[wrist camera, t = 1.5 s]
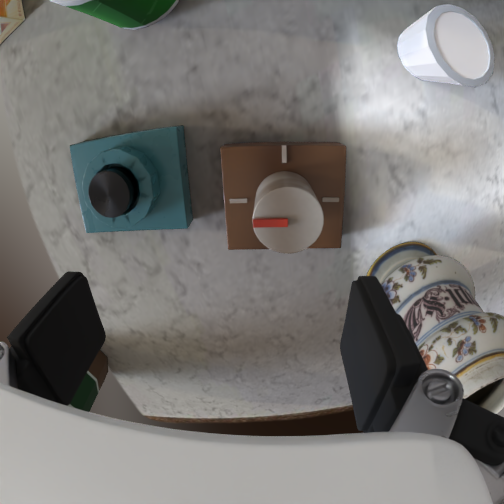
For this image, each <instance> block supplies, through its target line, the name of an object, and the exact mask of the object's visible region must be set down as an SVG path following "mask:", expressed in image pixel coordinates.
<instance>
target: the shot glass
mask: <svg viewBox="0 0 504 504" xmlns="http://www.w3.org/2000/svg"><path fill="white" fill-rule="evenodd" d="M397 48H398V54H399V58H400V59H401V61H402V63H403V65H404V67H405V68H406V69H407V70H408V71H409V72H410V73H411V74H412V75H413V76H415V77H417V78H419V79H421V80H422V81H432V82H441V83H449V84H457V85H463V86H470V87H478V86H480V85H483V84H485V83H486V82H487V81H488V80H489V78H490V77H491V75H492V74H493V69H494V62H495V58H494V52H493V46H492V43H491V41H490V39H489V37H488V35H487V33H486V31H485V29H484V28H483V26H482V25H481V24H480V23H479V22H478V20H477V19H476V18H475V17H474V16H473V15H471V14H470V13H468V12H467V11H466V10H464V9H463V8H461V7H458V6H454V5H450V4H445V5H440V6H436V7H434V8H433V9H432V10H430V11H429V12H428V13H426V14H425V15H424V16H422V17H421V18H420V19H418V20H417V21H416V22H414V23H413V24H412V25H410V26H409V27H408V28H406V29H405V30H404V31H403V32H402V34H401V35H400V36H399V39H398V44H397Z"/></svg>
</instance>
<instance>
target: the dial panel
mask: <svg viewBox="0 0 504 504" xmlns="http://www.w3.org/2000/svg"><path fill="white" fill-rule="evenodd" d="M220 150H221V165H222V179H223V192H224V205H225V218H226V230H227V242H228V249H229V250H233V249H269V248H268V247H266V246H265V245H264V244H263V243H262V242H261V241H260V240H259V239H258V237H257V236H256V234H255V231H254V228H253V222H252V220H253V211H254V204H255V197H256V192H257V189H258V187H259V185H260V184H261V182H262V181H263V180H264V179H265V178H266V177H268V176H269V175H271V174H273V173H276V172H281V171H289V172H293V173H296V174H299V175H300V176H302V177H303V178H305V179H306V180H307V181H308V183H309V184H310V186H311V188H312V190H313V191H314V193H315V195H316V197H317V199H318V201H319V203H320V205H321V208H322V210H323V215H324V224H323V228H322V231H321V234H320V235H319V237H318V238H317V240H316V241H315V242H314V243H313V244H312V245H311V246H309V247H308V248H341V238H342V225H343V211H344V194H345V172H346V146H344V145H343V144H341V143H335V142H255V143H232V144H224V145H223V146H222V147H221V148H220Z"/></svg>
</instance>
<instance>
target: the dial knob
mask: <svg viewBox="0 0 504 504" xmlns="http://www.w3.org/2000/svg"><path fill="white" fill-rule="evenodd" d="M252 222H253V228H254V231H255V234H256V236H257V237H258V239H259V240H260V241H261V242H262V243H263V244H264V245H265V246H266V247H268V248H269V249H271V250H273V251H276V252H279V253H296V252H299V251H302V250H304V249H306V248H308V247H309V246H311V245H312V244H313V243H314V242H315V241H316V240H317V238H318V237H319V235H320V234H321V231H322V228H323V224H324V215H323V210H322V208H321V205H320V203H319V201H318V199H317V197H316V195H315V193H314V191H313V190H312V188H311V186H310V184H309V183H308V181H307V180H306V179H305V178H303V177H302V176H300V175H299V174H296V173H293V172H289V171H281V172H276V173H273V174H271V175H269V176H268V177H266V178H265V179H264V180H263V181H262V182H261V184H260V185H259V187H258V189H257V192H256V197H255V204H254V211H253V220H252Z"/></svg>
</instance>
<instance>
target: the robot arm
mask: <svg viewBox="0 0 504 504" xmlns="http://www.w3.org/2000/svg"><path fill="white" fill-rule="evenodd" d="M105 337H106V335H105V331H104V328H103V325H102V323H101V320H100V317H99V314H98V311H97V308H96V305H95V302H94V299H93V296H92V293H91V290H90V287H89V284H88V280H87V278H86V277H85V276H84V275H83V274H82V273H81V272H67V273H65V274H64V275H63V276H62V277H61V278H60V279H59V280H58V281H57V282H56V284H55V285H54V286H53V287H52V288H51V289H50V290H49V291H48V292H47V293H46V294H45V295H44V296H43V297H42V298H41V299H40V300H39V302H38V303H37V304H36V305H35V306H34V307H33V308H32V309H31V310H30V311H29V313H28V314H27V315H26V316H25V317H24V318H23V319H22V320H21V322H20V323H19V324H18V325H17V326H16V327H15V329H14V330H13V331H12V332H11V333H10V335H9V336H8V337H7V338H8V340H9V342H10V344H11V345H12V346H11V347H10V349H9V347H8V346H7V344H6V343H4V342H0V504H504V417H501V416H499V415H497V414H495V413H493V412H491V411H489V410H487V409H485V408H482V407H480V406H478V405H476V404H474V403H472V402H470V401H468V400H466V399H464V398H463V394H464V389H463V385H462V383H461V382H460V380H459V379H458V378H457V377H456V376H455V375H454V374H452V373H451V372H449V371H447V370H443V369H430V370H428V368H427V366H426V364H425V362H424V360H423V358H422V356H421V354H420V352H419V349H418V347H417V345H416V343H415V341H414V339H413V337H412V335H411V333H410V332H409V330H408V328H407V326H406V324H405V322H404V320H403V318H402V317H401V315H399V314H396V312H395V310H394V308H393V306H392V304H391V302H390V300H389V298H388V297H387V295H386V293H385V291H384V289H383V287H382V286H381V284H380V282H379V280H378V278H377V277H376V276H359V277H358V280H357V281H353V282H352V286H351V292H350V298H349V303H348V309H347V314H346V319H345V324H344V329H343V334H342V338H341V344H340V349H341V355H342V359H343V363H344V368H345V372H346V376H347V381H348V385H349V390H350V394H351V399H352V404H353V408H354V413H355V418H356V422H357V428H358V430H359V431H363V432H364V433H355V434H338V435H322V436H240V435H224V434H212V433H201V432H192V431H184V430H176V429H169V428H163V427H156V426H151V425H145V424H139V423H134V422H129V421H125V420H120V419H115V418H110V417H107V416H103V415H98V414H95V413H91V412H87V411H83V410H80V409H76V408H73V407H69V406H67V405H69V404H70V403H71V401H72V399H73V397H74V395H75V394H76V392H77V390H78V388H79V386H80V384H81V382H82V381H83V379H84V377H85V375H86V373H87V371H88V370H89V368H90V366H91V364H92V362H93V361H94V359H95V357H96V355H97V354H98V352H99V350H100V348H101V347H102V345H103V343H104V341H105Z"/></svg>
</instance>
